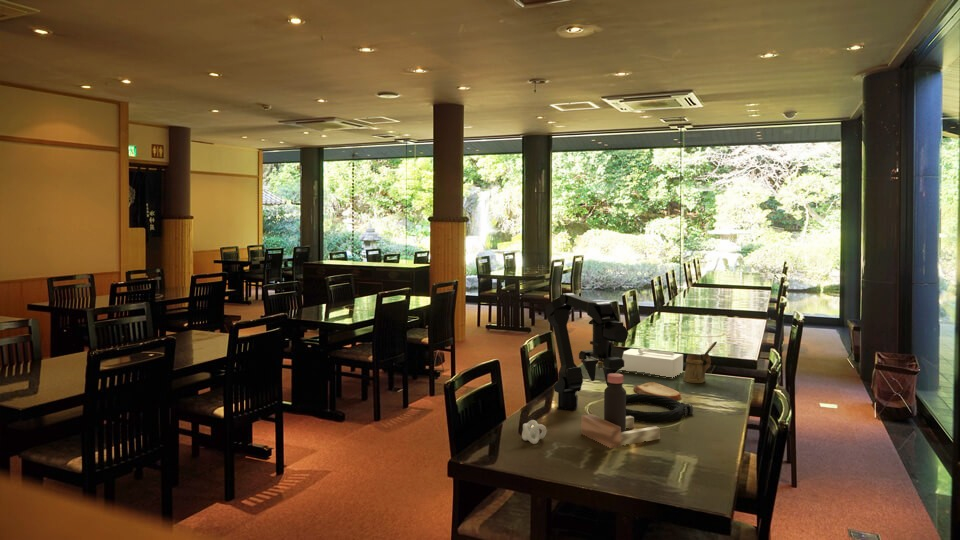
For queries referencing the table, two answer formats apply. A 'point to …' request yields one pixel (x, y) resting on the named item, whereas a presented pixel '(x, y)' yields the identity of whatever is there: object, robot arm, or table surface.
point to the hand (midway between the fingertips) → (600, 383)
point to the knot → (530, 431)
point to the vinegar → (615, 401)
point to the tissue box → (653, 362)
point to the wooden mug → (697, 366)
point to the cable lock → (675, 414)
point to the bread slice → (657, 390)
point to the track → (615, 431)
